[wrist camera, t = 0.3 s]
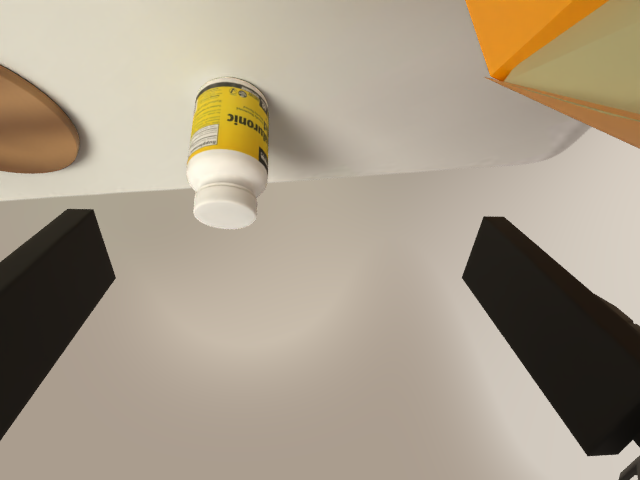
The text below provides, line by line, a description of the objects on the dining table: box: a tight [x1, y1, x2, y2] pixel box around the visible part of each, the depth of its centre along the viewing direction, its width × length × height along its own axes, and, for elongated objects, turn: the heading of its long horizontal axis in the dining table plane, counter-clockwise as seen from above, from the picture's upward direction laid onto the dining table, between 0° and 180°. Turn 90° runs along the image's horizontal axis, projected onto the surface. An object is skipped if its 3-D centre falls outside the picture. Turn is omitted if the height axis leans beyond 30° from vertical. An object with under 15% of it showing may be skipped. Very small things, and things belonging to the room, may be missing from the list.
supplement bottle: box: [187, 77, 269, 229], centre depth 24 cm, size 5×5×10 cm
